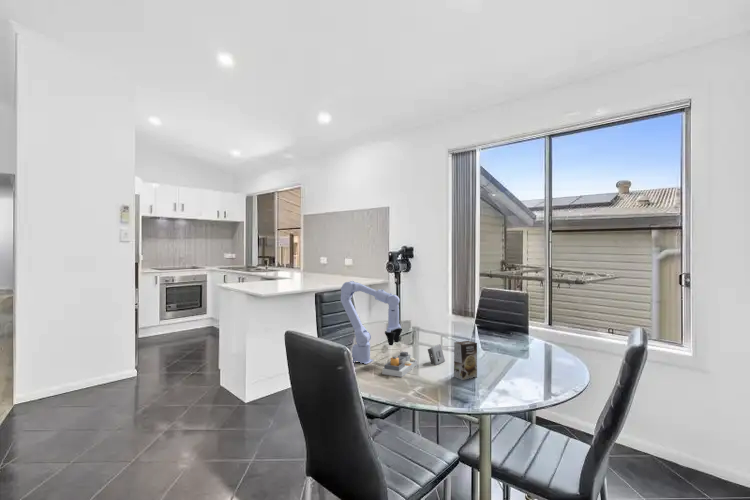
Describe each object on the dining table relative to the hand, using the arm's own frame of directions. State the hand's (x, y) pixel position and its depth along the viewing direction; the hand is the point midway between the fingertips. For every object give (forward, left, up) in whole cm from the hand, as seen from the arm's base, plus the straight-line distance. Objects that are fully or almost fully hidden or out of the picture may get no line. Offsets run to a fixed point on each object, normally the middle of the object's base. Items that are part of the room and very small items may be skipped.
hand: (393, 343), depth 194 cm
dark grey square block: (+6, -7, -8) cm, 12 cm away
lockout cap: (+7, -15, -8) cm, 18 cm away
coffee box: (+39, -6, -11) cm, 41 cm away
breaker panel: (+7, -8, -10) cm, 15 cm away
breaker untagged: (+6, -1, -6) cm, 9 cm away
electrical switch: (+20, +11, -11) cm, 25 cm away
